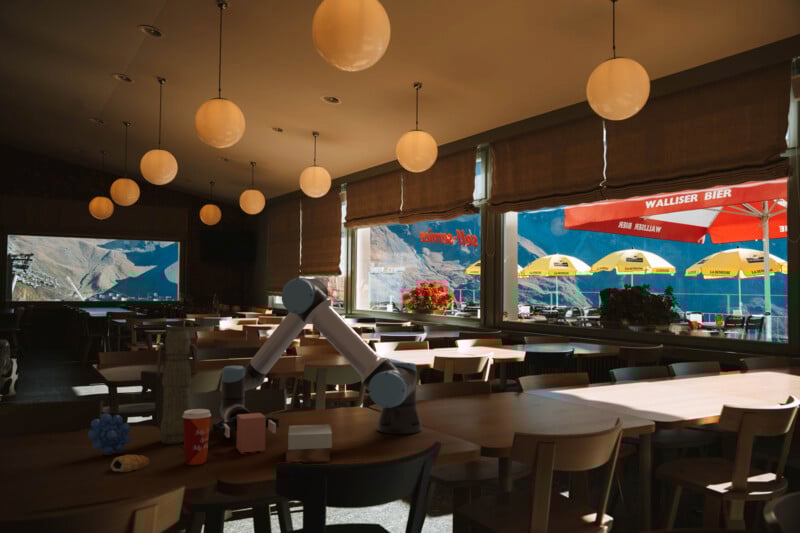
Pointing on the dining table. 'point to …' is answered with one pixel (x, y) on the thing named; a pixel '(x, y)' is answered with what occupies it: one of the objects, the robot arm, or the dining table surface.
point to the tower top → (309, 437)
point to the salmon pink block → (251, 432)
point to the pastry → (129, 463)
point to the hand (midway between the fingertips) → (251, 430)
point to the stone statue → (176, 383)
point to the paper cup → (196, 435)
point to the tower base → (308, 455)
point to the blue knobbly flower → (109, 434)
